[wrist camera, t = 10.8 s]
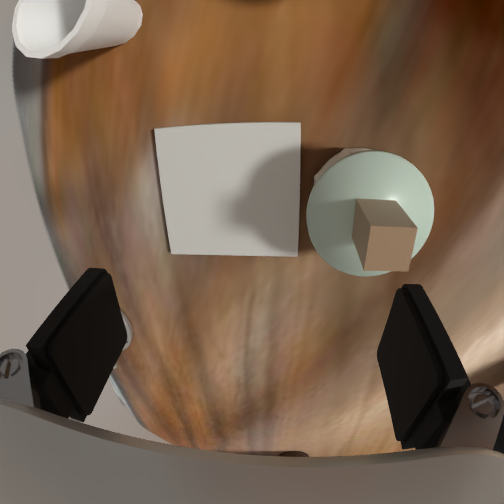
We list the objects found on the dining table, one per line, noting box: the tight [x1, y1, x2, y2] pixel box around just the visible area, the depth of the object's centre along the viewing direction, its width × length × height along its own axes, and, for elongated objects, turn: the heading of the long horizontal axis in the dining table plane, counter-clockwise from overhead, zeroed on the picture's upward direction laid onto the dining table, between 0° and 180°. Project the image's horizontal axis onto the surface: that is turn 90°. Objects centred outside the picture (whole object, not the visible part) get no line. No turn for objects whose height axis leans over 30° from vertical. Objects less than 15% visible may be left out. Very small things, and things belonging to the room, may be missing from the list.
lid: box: [306, 150, 434, 276], centre depth 27 cm, size 13×13×7 cm
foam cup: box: [12, 0, 143, 59], centre depth 22 cm, size 10×9×13 cm
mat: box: [154, 122, 301, 257], centre depth 37 cm, size 16×16×1 cm
